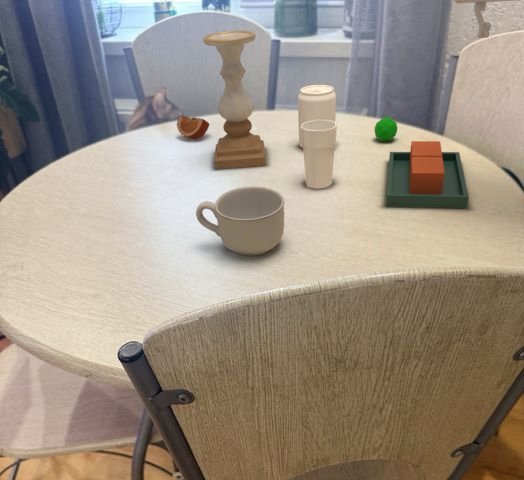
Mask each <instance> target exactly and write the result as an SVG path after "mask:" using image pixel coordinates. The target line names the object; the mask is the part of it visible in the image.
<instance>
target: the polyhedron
mask: <svg viewBox="0 0 524 480" xmlns="http://www.w3.org/2000/svg"><path fill="white" fill-rule="evenodd" d="M397 133H398V123H397V122H396V121H395V120H394V119H392V118H391V117H389V116H388V117H386V116H384V117H383V118H381V119H380V120H379V121H377V122H376V123H375V126H374V135H375V137H376V138H377V139H378V140H380V141H381V142H389V141H391V140H392V139H393V138H394V137H396V135H397Z"/></svg>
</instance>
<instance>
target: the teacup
mask: <svg viewBox="0 0 524 480" xmlns="http://www.w3.org/2000/svg"><path fill="white" fill-rule="evenodd" d="M204 210H210V211H211V212H212V213H213V215H214V217H215V219H216V221H217V224H215V223H214V222H211V221H209V220H208V219H207V218H206V217H205V216H204V214H203V211H204ZM195 216H196V219H197V221H198V222H199V224H200V225H201V226H202V227H204V228H206V229H208V230H209V231H211V232H213V233H215V235H216V236H217V237H219V238H220V240H221V241H222V243H223V245H224V246H225V247H226V248H228V249H229V250H231V251H233V252H234V253H237V254H240V255H242V256H247V257H248V256H250V257H251V256H252V257H253V256H260V255H263V254H265V253H268V252H269V251H270V250H271V249H273V248H274V247H275V246H277V245H278V244H279V243H280V241H281V240H282V238H283V235H284V230H285V198H284V195H282V194H281V193H280V191H277V190H275V189H273V188H271V187H266V186H259V185H255V186H254V185H253V186H251V185H250V186H241V187H236V188H233V189H229V190H228V191H226V192H224V193H222V194H221V195H220V196H219V197H218V198H217V199H216V201H215V203H214V202H212V201H208V200H207V201H202V202H201V203H199V204H198V205H197V208H196V211H195Z"/></svg>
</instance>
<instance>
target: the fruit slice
mask: <svg viewBox="0 0 524 480" xmlns="http://www.w3.org/2000/svg"><path fill="white" fill-rule="evenodd" d="M209 127H210V123H209V122H208V121H207V120H206V119H204V118H200V117H194V116H192V117H189V116H187V115H181V114H180V115H179V114H178V118H177V122H176V128H177V130H178V132H179V133H180V135H182V136H183V137H185V138H187V139H189V140H197V139H200V138H202V137H203V136H204V135H205V134H206V133H207V132H208V130H209Z"/></svg>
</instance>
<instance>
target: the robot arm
mask: <svg viewBox="0 0 524 480" xmlns="http://www.w3.org/2000/svg"><path fill="white" fill-rule="evenodd" d="M453 1H454V3H455V4H473V12H474V15H475V17H476V20H477V23H478V27H477V34H476V37H477V39H487V38H489V36H490V32H489V31H490V30H491V25H492V24H491V23H490V22H489V21H487V22H485V19H484V17H483V14H482V12H485V11H486V7H487V3H495V2H514V1H515V2H517V1H519V0H453Z"/></svg>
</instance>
